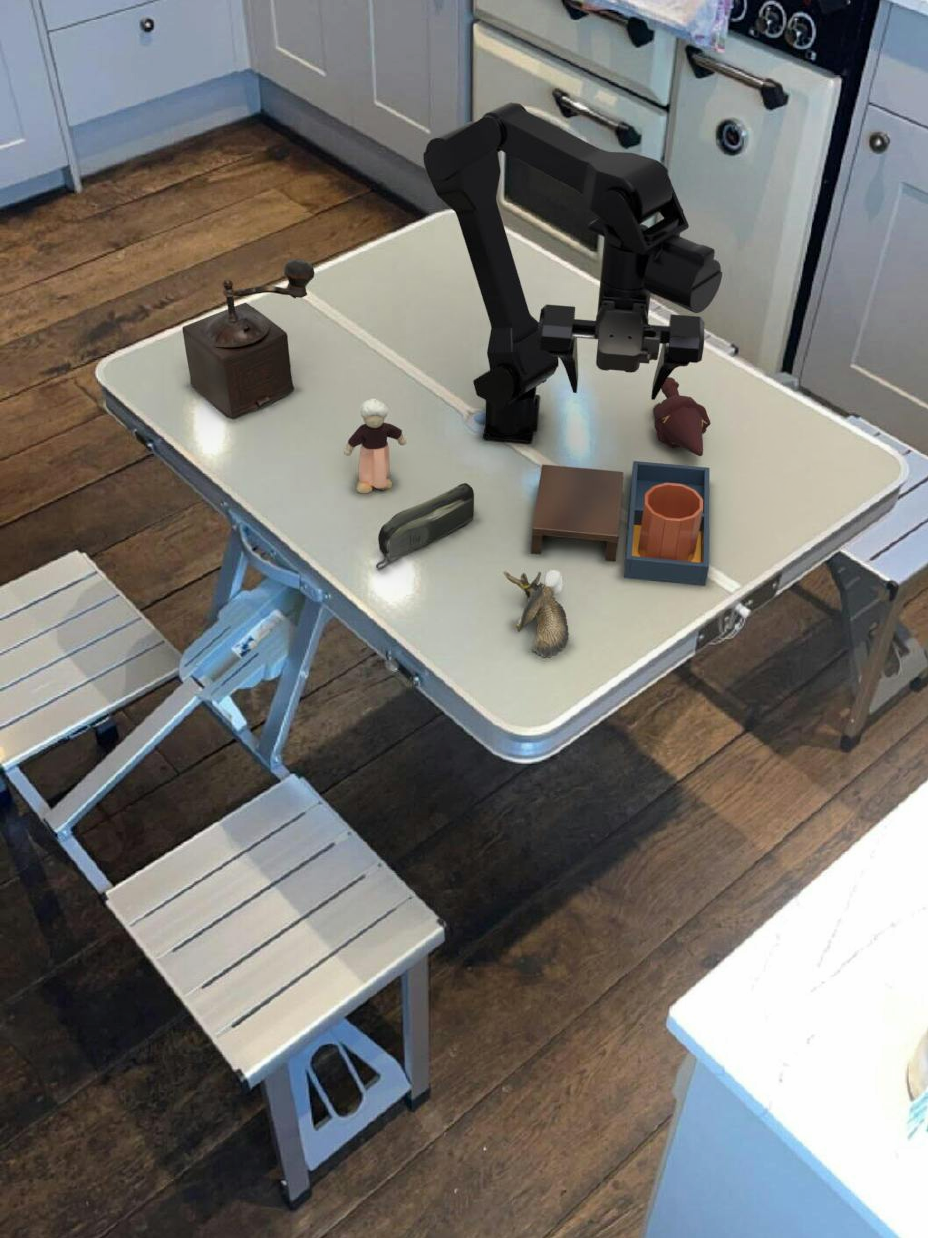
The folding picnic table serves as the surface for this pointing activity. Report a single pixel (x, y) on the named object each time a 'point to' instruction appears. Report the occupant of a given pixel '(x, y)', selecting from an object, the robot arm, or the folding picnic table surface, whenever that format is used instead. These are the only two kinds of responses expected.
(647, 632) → the folding picnic table surface
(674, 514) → the cup
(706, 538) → the blue divided tray
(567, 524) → the brown low table
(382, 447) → the grandmother figurine
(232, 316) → the coffee grinder
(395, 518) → the dark green rounded bar
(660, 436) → the maroon cone-shaped figurine
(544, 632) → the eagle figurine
